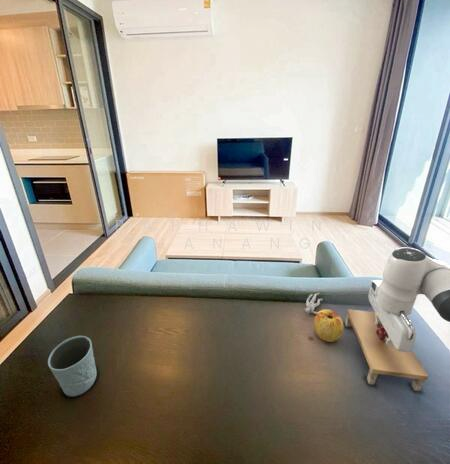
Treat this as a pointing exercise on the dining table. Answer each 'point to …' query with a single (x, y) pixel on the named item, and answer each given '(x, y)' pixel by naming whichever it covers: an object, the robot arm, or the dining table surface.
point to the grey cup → (73, 365)
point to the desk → (383, 351)
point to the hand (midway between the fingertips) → (383, 334)
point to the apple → (328, 325)
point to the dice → (381, 333)
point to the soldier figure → (312, 304)
